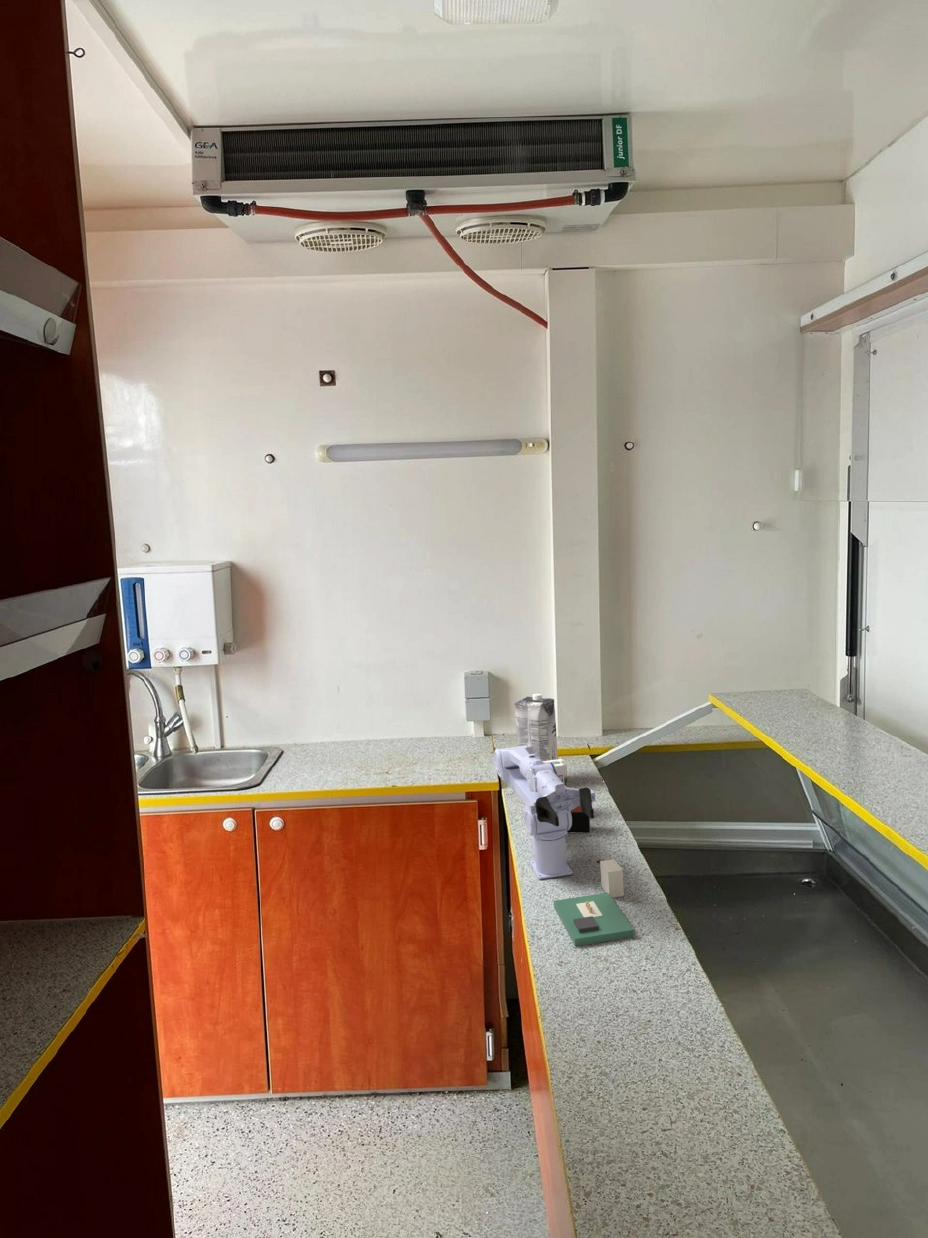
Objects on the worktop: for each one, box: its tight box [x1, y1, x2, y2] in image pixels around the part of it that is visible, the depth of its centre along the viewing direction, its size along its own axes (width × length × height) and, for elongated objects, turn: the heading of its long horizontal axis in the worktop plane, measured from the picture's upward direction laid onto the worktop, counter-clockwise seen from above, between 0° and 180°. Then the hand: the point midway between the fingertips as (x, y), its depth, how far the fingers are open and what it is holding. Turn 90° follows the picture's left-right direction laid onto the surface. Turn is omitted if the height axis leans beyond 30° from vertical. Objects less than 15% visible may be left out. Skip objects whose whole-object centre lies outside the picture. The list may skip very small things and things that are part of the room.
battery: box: [567, 805, 591, 833], centre depth 224 cm, size 4×7×10 cm, turn 83°
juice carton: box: [514, 693, 559, 761], centre depth 257 cm, size 9×10×27 cm
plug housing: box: [599, 858, 625, 899], centre depth 192 cm, size 7×3×6 cm, turn 9°
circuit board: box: [553, 892, 635, 947], centre depth 180 cm, size 16×12×3 cm
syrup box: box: [543, 758, 569, 788], centre depth 235 cm, size 6×6×14 cm
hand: (574, 818), depth 181 cm, fingers open, 7 cm apart
